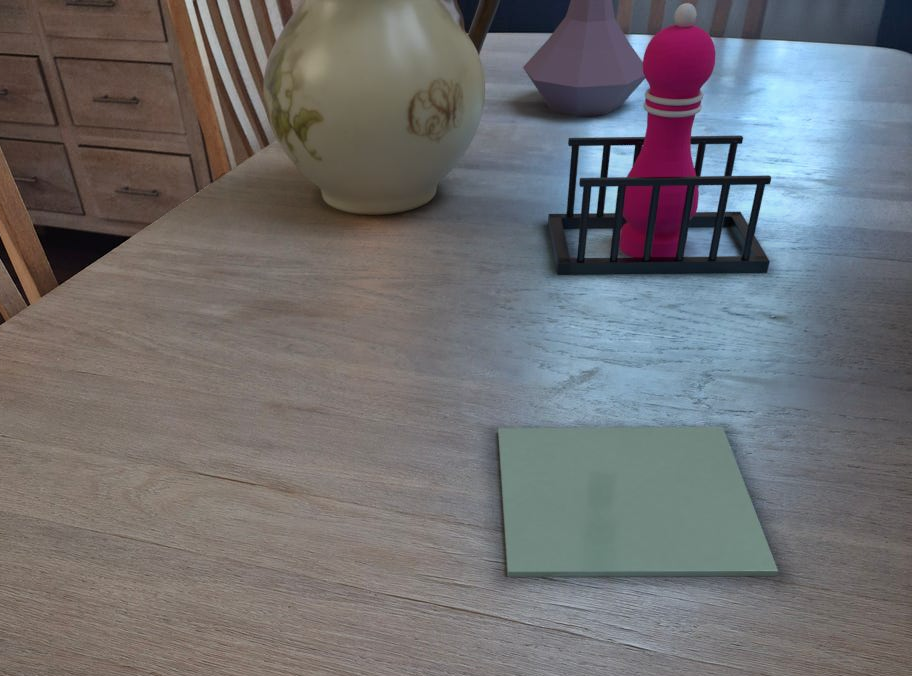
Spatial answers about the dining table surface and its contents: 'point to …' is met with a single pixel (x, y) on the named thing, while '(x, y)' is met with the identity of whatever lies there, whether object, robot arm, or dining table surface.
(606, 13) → the mauve faceted vase
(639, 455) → the tile
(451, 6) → the pitcher
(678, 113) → the pepper mill
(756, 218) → the rack
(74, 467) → the dining table surface
